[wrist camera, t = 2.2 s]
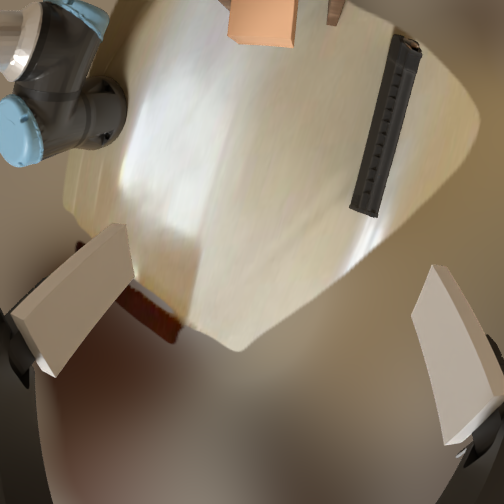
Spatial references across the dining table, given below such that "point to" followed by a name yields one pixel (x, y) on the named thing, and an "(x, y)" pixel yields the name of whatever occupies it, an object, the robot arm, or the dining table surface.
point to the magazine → (386, 124)
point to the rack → (333, 10)
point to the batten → (263, 22)
